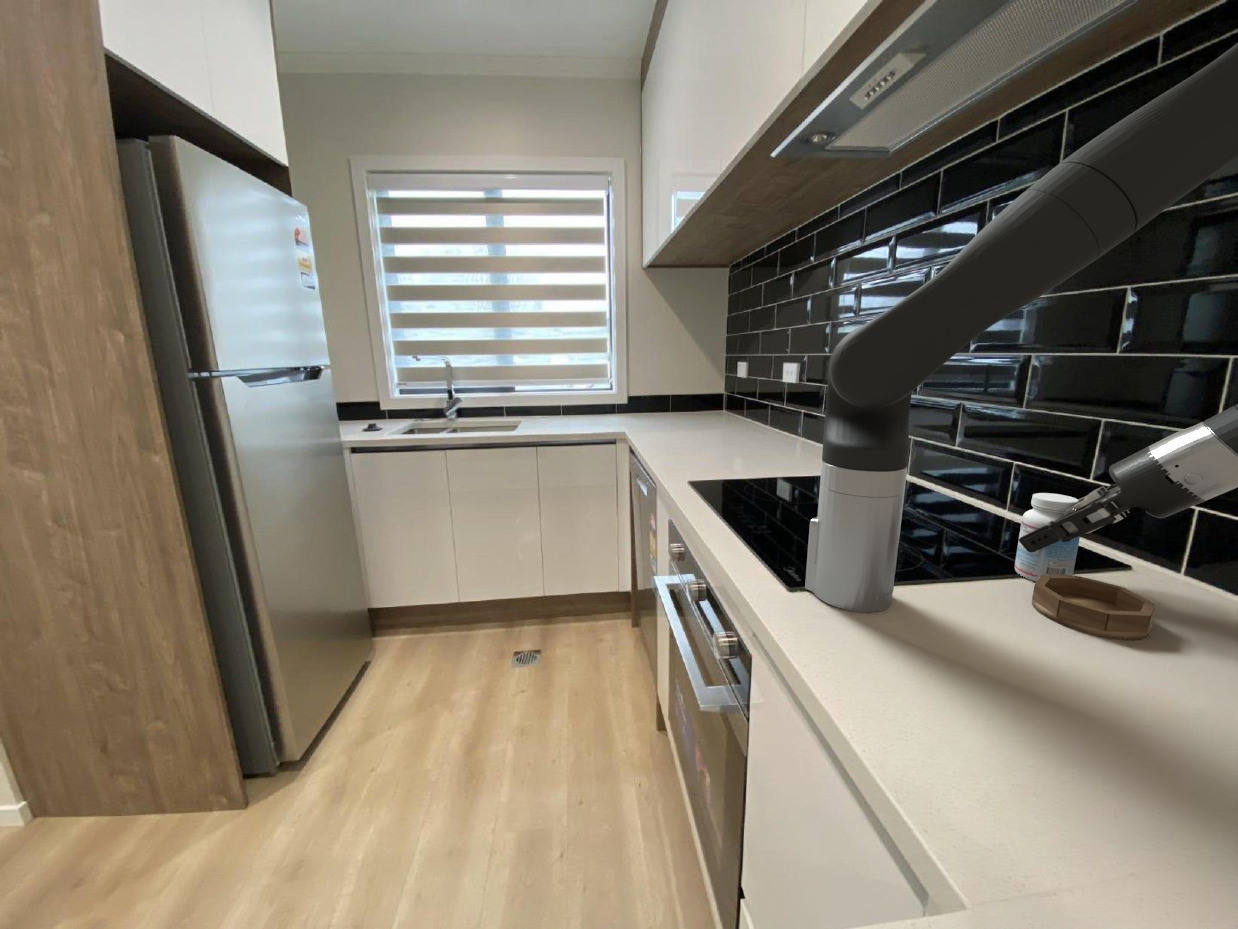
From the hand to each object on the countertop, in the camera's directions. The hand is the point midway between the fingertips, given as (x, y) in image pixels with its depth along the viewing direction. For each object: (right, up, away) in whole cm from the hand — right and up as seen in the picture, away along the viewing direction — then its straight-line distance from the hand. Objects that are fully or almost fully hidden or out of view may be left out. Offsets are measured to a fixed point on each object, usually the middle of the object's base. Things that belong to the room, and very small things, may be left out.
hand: (1031, 539), depth 67 cm
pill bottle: (+1, -5, 0) cm, 5 cm away
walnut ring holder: (-2, -7, -10) cm, 13 cm away
